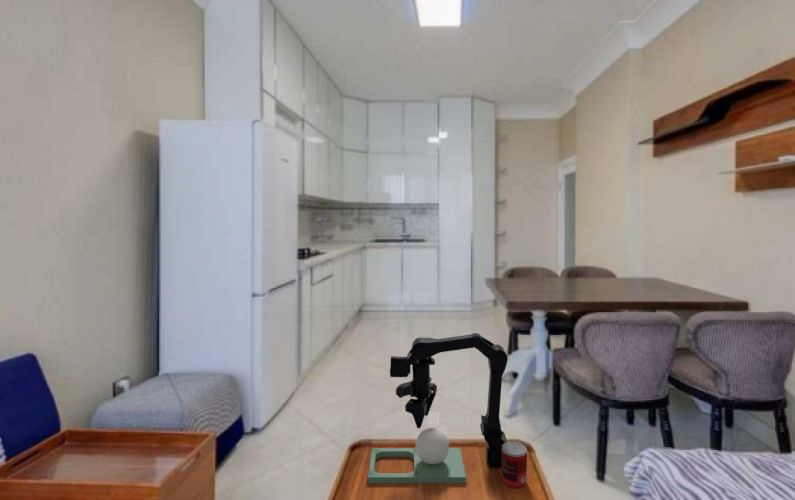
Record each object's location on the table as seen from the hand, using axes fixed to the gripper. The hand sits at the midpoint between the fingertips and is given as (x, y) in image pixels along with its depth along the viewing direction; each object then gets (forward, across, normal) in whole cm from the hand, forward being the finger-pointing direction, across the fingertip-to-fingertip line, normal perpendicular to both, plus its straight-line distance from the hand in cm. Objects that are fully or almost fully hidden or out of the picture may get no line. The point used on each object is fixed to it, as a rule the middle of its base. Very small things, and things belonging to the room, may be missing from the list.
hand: (422, 421), depth 153 cm
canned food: (+15, +3, +30) cm, 33 cm away
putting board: (+14, +5, -1) cm, 15 cm away
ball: (+6, +3, +4) cm, 8 cm away
